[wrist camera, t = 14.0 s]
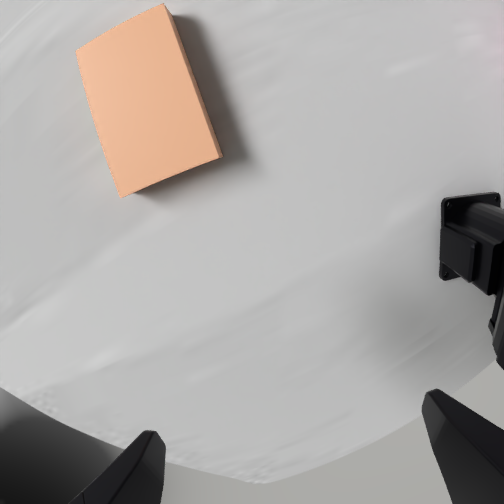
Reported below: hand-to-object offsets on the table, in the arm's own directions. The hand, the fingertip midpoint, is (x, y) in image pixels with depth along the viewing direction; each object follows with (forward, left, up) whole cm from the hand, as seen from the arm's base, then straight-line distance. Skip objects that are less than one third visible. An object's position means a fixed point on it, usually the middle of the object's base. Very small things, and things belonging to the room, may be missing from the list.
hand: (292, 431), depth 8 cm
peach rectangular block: (+5, -8, -12) cm, 15 cm away
